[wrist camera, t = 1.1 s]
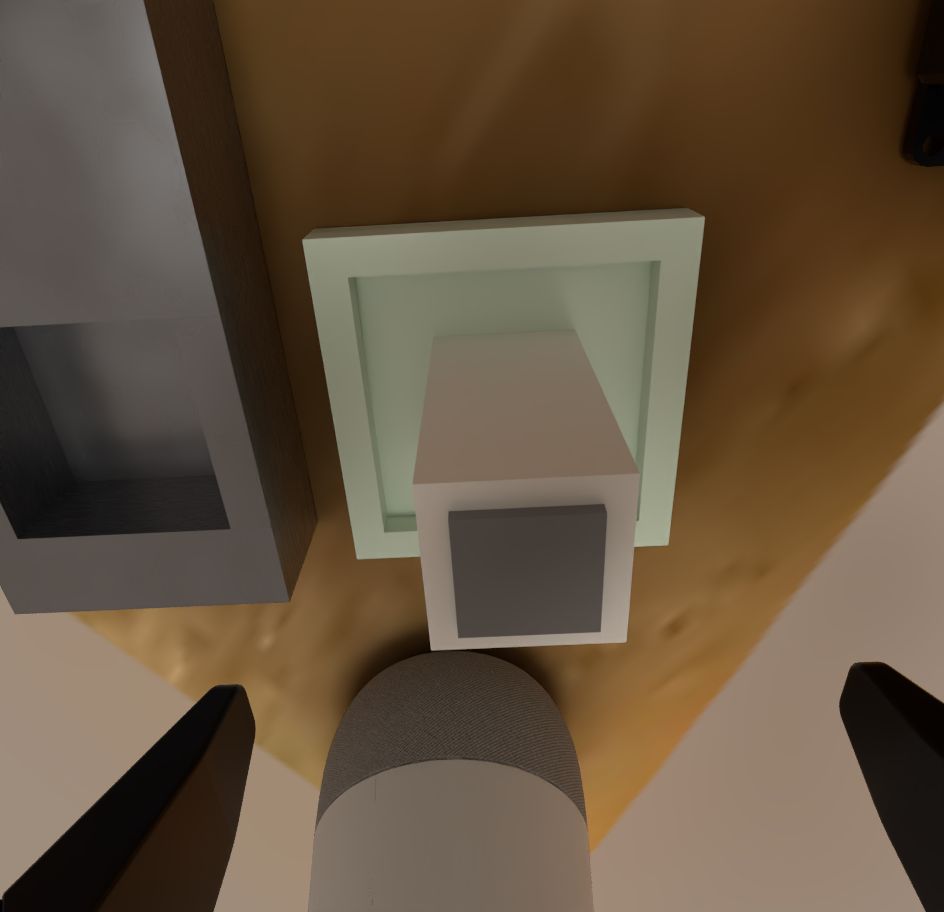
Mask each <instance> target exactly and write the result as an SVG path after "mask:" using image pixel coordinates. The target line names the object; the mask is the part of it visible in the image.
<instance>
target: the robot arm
mask: <svg viewBox="0 0 944 912" xmlns="http://www.w3.org/2000/svg"><path fill="white" fill-rule="evenodd" d="M916 73H917V75H918V77H919V82H918V87H917V91H916V95H915V99H914V103H913V108H912V112H911V116H910V120H909V124H908V129H907V133H906V137H905V141H904V147H903V154H904V157H905V159H906V160H907V161H908V162H909V163H910V164H914V165H920V166H926V167H932V166H944V0H933V3H932V7H931V11H930V15H929V20H928V24H927V28H926V32H925V36H924V41H923V45H922V49H921V53H920V58H919V62H918V66H917V71H916ZM930 135H933V137H934V144H933V146H932V148H931V149H930V150H929V151H928V152H927V153H925V154H924V152H923V144H924V142H925V140H926V139H927V138H928V137H929V136H930ZM839 704H840V705H839V708H840V714H841V718H842V720H843V723H844V726H845V728H846V731H847V734H848V736H849V739H850V742H851V744H852V747H853V749H854V752H855V755H856V757H857V760H858V763H859V765H860V768H861V770H862V773H863V776H864V778H865V781H866V784H867V787H868V789H869V792H870V794H871V797H872V800H873V802H874V805H875V807H876V810H877V812H878V814H879V817H880V819H881V822H882V824H883V826H884V828H885V830H886V832H887V835H888V837H889V839H890V841H891V843H892V845H893V847H894V849H895V851H896V853H897V855H898V857H899V859H900V861H901V863H902V865H903V867H904V869H905V871H906V873H907V875H908V877H909V879H910V881H911V883H912V885H913V887H914V889H915V891H916V893H917V895H918V897H919V899H920V901H921V903H922V905H923V907H924V909H925V911H926V912H944V703H943V702H942V701H940V700H939V699H937V698H936V697H934V696H933V695H931V694H930V693H928V692H927V691H926V690H924V689H923V688H921V687H920V686H918V685H917V684H915V683H914V682H912V681H911V680H910V679H908V678H907V677H905V676H903V675H902V674H901V673H899V672H898V671H896V670H895V669H894V668H892V667H891V666H889V665H887V664H885V663H882V662H859V663H854V664H853V665H852V666H851V668H850V670H849V672H848V676H847V679H846V682H845V685H844V689H843V692H842V694H841V698H840V702H839ZM254 739H255V720H254V716H253V713H252V710H251V707H250V703H249V700H248V697H247V694H246V691H245V689H244V687H243V686H241V685H238V684H236V685H217V686H215V687H213V688H211V689H210V690H209V691H208V692H207V693H206V694H205V695H204V696H203V697H202V698H201V699H200V700H199V701H198V702H197V703H196V704H195V705H194V706H193V707H192V708H191V709H190V710H189V711H188V712H187V713H186V714H185V715H184V716H183V717H182V718H181V719H180V720H179V721H178V722H177V723H176V724H175V725H174V726H173V727H172V728H171V729H170V730H169V731H168V732H167V733H166V734H165V735H164V736H162V738H160V739H159V740H158V741H157V742H156V743H155V744H154V745H153V746H152V747H151V749H149V750H148V751H147V752H146V753H145V755H143V756H142V757H141V758H140V759H139V760H138V761H137V762H136V763H135V764H134V765H133V766H132V767H131V768H130V769H129V770H128V771H127V772H126V773H125V774H124V775H123V776H122V777H121V778H120V779H119V780H118V781H117V782H116V783H115V784H114V785H113V786H112V787H111V788H110V789H109V790H108V791H107V792H106V793H105V794H104V795H103V796H102V797H101V798H100V799H99V800H98V801H97V802H96V803H95V804H94V805H93V806H92V807H91V808H90V809H89V810H88V811H87V812H86V813H84V814H83V815H82V816H81V817H80V818H79V819H78V820H77V821H76V822H75V823H74V824H73V825H72V826H71V827H70V828H69V829H68V830H67V831H66V832H65V833H64V834H63V835H62V836H61V837H60V838H59V839H58V840H57V841H56V842H55V843H54V844H53V845H52V846H51V847H50V848H49V849H48V850H47V851H46V852H45V853H44V854H43V855H42V856H41V857H40V858H39V859H38V860H37V861H36V862H35V863H34V864H33V865H32V866H31V867H30V868H29V869H28V870H27V871H26V872H25V873H24V874H23V875H22V876H21V877H20V878H19V879H18V880H17V881H16V882H15V883H14V884H13V885H12V886H10V888H8V890H7V891H5V892H4V894H3V896H2V900H1V899H0V912H213V911H214V908H215V905H216V901H217V898H218V895H219V891H220V888H221V885H222V881H223V878H224V875H225V872H226V868H227V865H228V862H229V859H230V855H231V851H232V847H233V844H234V840H235V836H236V831H237V826H238V822H239V817H240V811H241V806H242V801H243V796H244V791H245V785H246V780H247V775H248V770H249V765H250V760H251V755H252V749H253V744H254Z"/></svg>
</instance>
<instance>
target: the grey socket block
mask: <svg viewBox="0 0 944 912" xmlns="http://www.w3.org/2000/svg"><path fill="white" fill-rule="evenodd" d="M317 523H318V522H317V517H316V512H315V507H314V502H313V497H312V492H311V487H310V482H309V477H308V472H307V467H306V462H305V457H304V452H303V447H302V442H301V437H300V432H299V427H298V422H297V417H296V412H295V407H294V402H293V397H292V392H291V387H290V382H289V377H288V372H287V367H286V363H285V358H284V353H283V348H282V343H281V338H280V333H279V328H278V323H277V318H276V313H275V308H274V303H273V298H272V293H271V288H270V283H269V278H268V273H267V268H266V263H265V258H264V253H263V248H262V243H261V238H260V233H259V228H258V223H257V218H256V213H255V208H254V203H253V198H252V193H251V189H250V184H249V179H248V174H247V169H246V164H245V159H244V154H243V149H242V144H241V139H240V134H239V129H238V124H237V119H236V114H235V109H234V104H233V99H232V94H231V89H230V84H229V79H228V74H227V69H226V64H225V59H224V54H223V49H222V44H221V39H220V34H219V29H218V24H217V19H216V14H215V10H214V5H213V0H0V586H1V588H2V590H3V592H4V594H5V596H6V598H7V600H8V602H9V603H10V605H11V607H12V609H13V611H14V613H15V614H30V613H52V612H75V611H98V610H120V609H143V608H166V607H188V606H211V605H233V604H256V603H278V602H290V600H291V597H292V594H293V591H294V588H295V585H296V582H297V580H298V577H299V574H300V571H301V568H302V565H303V563H304V560H305V557H306V554H307V551H308V548H309V545H310V543H311V540H312V537H313V534H314V531H315V528H316V525H317Z"/></svg>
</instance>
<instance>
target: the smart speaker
mask: <svg viewBox="0 0 944 912" xmlns="http://www.w3.org/2000/svg"><path fill="white" fill-rule="evenodd" d="M308 912H594V910H593V896H592V881H591V867H590V853H589V839H588V828H587V819H586V810H585V802H584V794H583V787H582V780H581V773H580V768H579V764H578V759H577V755H576V751H575V747H574V744H573V741H572V738H571V735H570V733H569V730H568V728H567V725H566V723H565V721H564V719H563V717H562V715H561V713H560V711H559V709H558V707H557V706H556V704H555V703H554V701H553V700H552V698H551V697H550V695H549V694H548V693H547V692H546V691H545V689H544V688H543V687H542V686H541V685H540V684H539V683H538V682H537V681H536V680H535V679H534V678H532V677H531V676H530V675H529V674H527V673H526V672H525V671H523V670H522V669H520V668H518V667H517V666H515V665H513V664H511V663H509V662H507V661H504V660H502V659H499V658H496V657H493V656H490V655H486V654H481V653H476V652H469V651H438V652H430V653H425V654H420V655H417V656H413V657H410V658H407V659H404V660H402V661H399V662H397V663H395V664H393V665H391V666H389V667H388V668H386V669H385V670H383V671H381V672H380V673H379V674H377V675H376V676H375V677H374V678H373V679H371V680H370V681H369V682H368V683H367V684H366V685H365V686H364V687H363V688H362V689H361V691H360V692H359V693H358V694H357V695H356V697H355V698H354V699H353V701H352V702H351V704H350V705H349V707H348V709H347V710H346V712H345V714H344V716H343V718H342V720H341V722H340V724H339V726H338V728H337V731H336V733H335V736H334V738H333V741H332V743H331V747H330V750H329V753H328V757H327V761H326V765H325V769H324V773H323V779H322V785H321V791H320V796H319V804H318V811H317V819H316V826H315V834H314V843H313V855H312V868H311V880H310V893H309V904H308Z"/></svg>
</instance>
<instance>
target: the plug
mask: <svg viewBox="0 0 944 912" xmlns="http://www.w3.org/2000/svg"><path fill="white" fill-rule="evenodd" d="M639 481H640V472H639V470H638V468H637V465H636V463H635V461H634V459H633V457H632V454H631V452H630V450H629V448H628V446H627V443H626V441H625V439H624V437H623V434H622V432H621V430H620V428H619V426H618V423H617V421H616V419H615V417H614V415H613V412H612V410H611V408H610V406H609V403H608V401H607V399H606V397H605V395H604V392H603V390H602V388H601V386H600V384H599V381H598V379H597V377H596V375H595V372H594V370H593V368H592V366H591V364H590V361H589V359H588V357H587V355H586V353H585V350H584V348H583V346H582V344H581V341H580V339H579V337H578V335H577V333H576V330H558V331H539V332H520V333H501V334H482V335H463V336H444V337H433V343H432V350H431V357H430V364H429V371H428V378H427V385H426V392H425V399H424V406H423V413H422V420H421V427H420V434H419V441H418V448H417V455H416V462H415V469H414V476H413V483H412V487H413V495H414V504H415V513H416V522H417V531H418V539H419V548H420V557H421V566H422V575H423V584H424V592H425V601H426V610H427V619H428V628H429V637H430V645H431V651H432V650H456V649H479V648H503V647H526V646H550V645H573V644H597V643H620V642H626V641H627V629H628V616H629V604H630V592H631V580H632V567H633V555H634V543H635V530H636V518H637V506H638V494H639Z"/></svg>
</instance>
